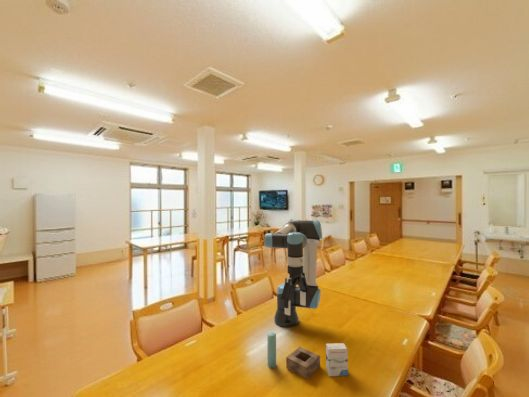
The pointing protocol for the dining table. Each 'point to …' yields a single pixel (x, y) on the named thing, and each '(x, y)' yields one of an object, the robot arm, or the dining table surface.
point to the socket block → (303, 362)
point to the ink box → (337, 359)
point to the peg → (271, 349)
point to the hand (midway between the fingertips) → (295, 309)
